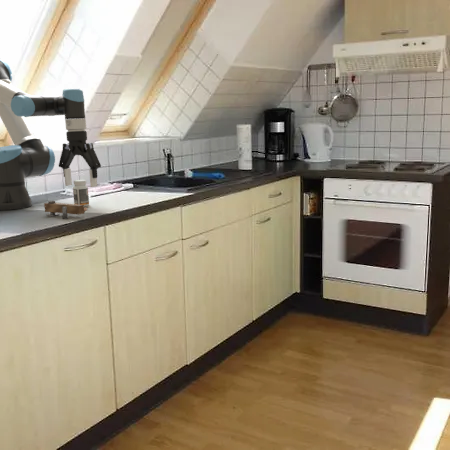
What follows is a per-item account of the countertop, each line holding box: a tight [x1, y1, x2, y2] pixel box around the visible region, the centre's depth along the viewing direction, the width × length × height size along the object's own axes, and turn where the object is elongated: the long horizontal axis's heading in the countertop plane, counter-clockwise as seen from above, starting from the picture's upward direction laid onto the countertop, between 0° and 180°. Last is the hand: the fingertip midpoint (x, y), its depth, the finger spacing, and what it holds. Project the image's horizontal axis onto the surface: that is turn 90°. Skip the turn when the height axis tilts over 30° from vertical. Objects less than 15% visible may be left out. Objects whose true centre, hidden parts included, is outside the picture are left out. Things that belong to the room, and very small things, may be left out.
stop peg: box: [61, 207, 69, 220], centre depth 203 cm, size 2×2×4 cm
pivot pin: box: [46, 212, 60, 217], centre depth 210 cm, size 4×4×1 cm
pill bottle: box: [72, 179, 90, 207], centre depth 227 cm, size 6×6×10 cm
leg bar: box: [43, 200, 85, 216], centre depth 207 cm, size 16×2×4 cm, turn 63°
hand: (81, 186), depth 227 cm, fingers open, 13 cm apart
